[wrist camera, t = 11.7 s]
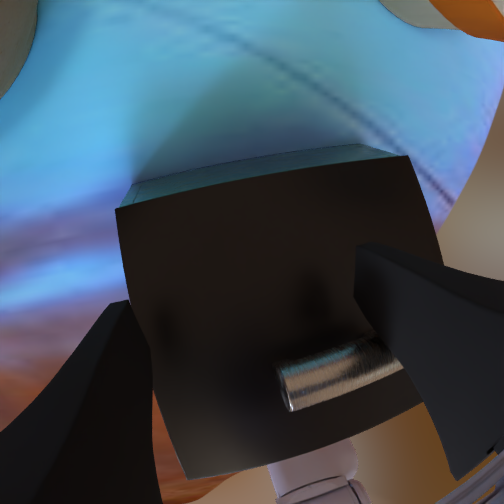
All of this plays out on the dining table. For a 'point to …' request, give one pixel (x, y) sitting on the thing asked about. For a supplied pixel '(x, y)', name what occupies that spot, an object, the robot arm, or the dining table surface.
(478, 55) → the dining table surface
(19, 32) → the planter bowl
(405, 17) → the reusable coffee cup
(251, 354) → the lid
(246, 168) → the dark green box
